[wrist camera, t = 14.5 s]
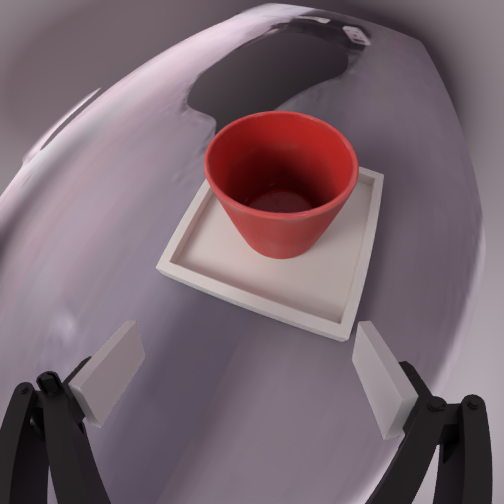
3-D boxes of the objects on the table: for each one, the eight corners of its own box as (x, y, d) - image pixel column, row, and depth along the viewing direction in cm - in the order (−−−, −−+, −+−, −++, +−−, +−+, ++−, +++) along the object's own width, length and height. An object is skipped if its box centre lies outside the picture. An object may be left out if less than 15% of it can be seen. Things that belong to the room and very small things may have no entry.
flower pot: (274, 165, 30) (271, 94, 21) (355, 220, 26) (384, 153, 17) (204, 226, 27) (173, 161, 18) (287, 299, 23) (293, 254, 14)
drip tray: (164, 275, 26) (155, 267, 24) (236, 147, 32) (233, 135, 30) (342, 342, 22) (348, 339, 20) (378, 186, 28) (384, 174, 26)
